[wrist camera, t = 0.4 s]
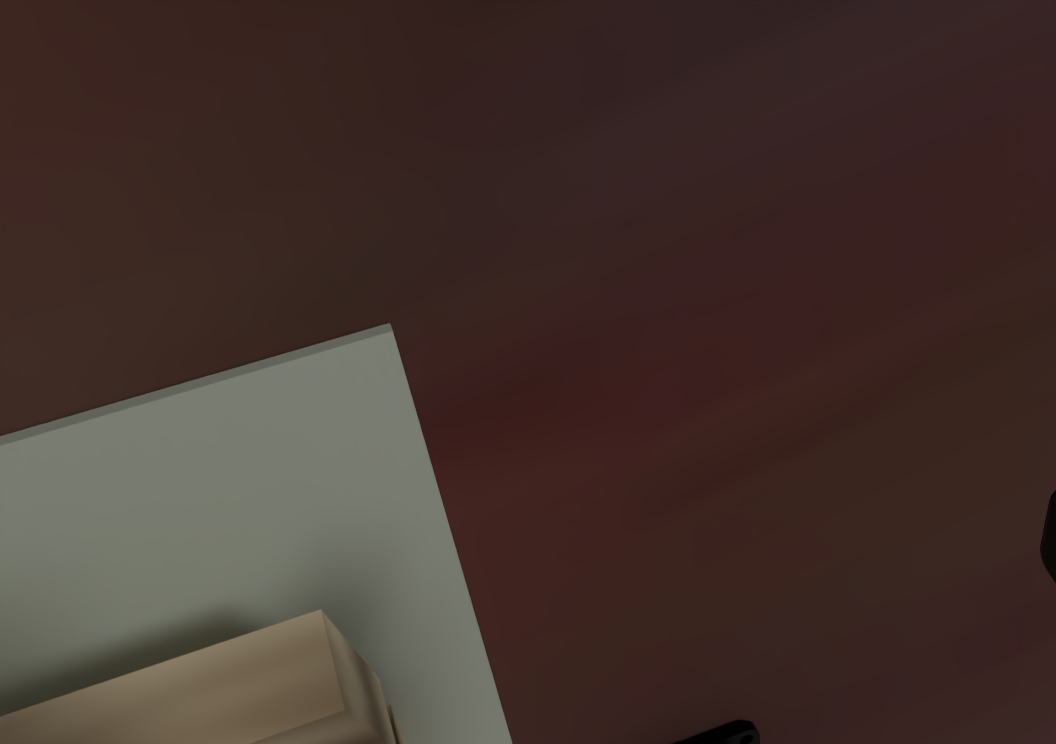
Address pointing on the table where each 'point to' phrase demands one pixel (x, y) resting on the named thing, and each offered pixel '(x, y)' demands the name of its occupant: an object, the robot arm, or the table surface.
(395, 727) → the oak board
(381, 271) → the table surface
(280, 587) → the underlay mat
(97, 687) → the plank
